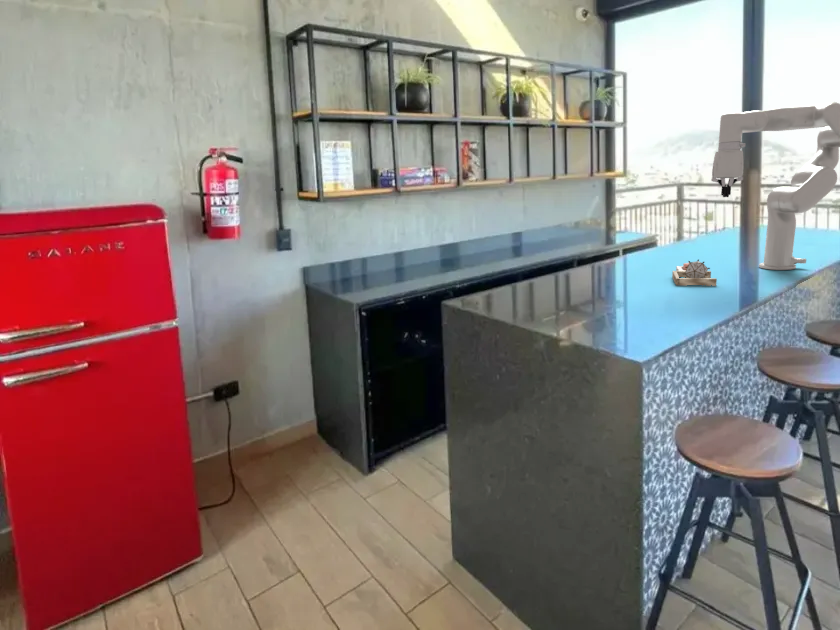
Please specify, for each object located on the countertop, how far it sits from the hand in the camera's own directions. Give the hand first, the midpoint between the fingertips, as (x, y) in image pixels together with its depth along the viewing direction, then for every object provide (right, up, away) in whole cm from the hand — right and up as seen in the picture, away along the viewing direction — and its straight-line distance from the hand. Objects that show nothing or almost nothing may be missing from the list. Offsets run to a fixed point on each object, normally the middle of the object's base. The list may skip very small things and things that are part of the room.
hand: (725, 196), depth 222 cm
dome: (-11, -29, +4) cm, 31 cm away
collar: (-11, -29, +4) cm, 32 cm away
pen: (-15, -33, -8) cm, 37 cm away
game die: (-15, -33, -8) cm, 37 cm away
